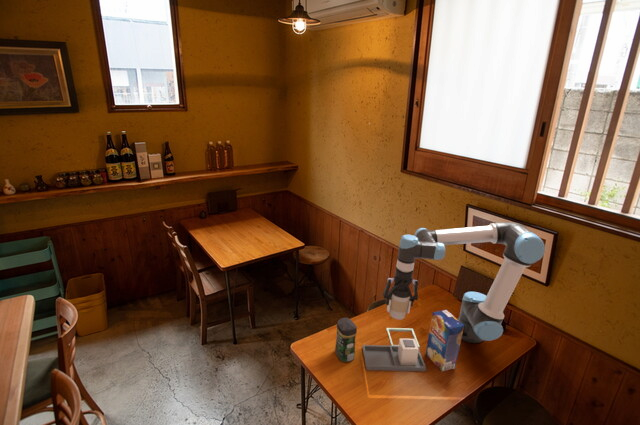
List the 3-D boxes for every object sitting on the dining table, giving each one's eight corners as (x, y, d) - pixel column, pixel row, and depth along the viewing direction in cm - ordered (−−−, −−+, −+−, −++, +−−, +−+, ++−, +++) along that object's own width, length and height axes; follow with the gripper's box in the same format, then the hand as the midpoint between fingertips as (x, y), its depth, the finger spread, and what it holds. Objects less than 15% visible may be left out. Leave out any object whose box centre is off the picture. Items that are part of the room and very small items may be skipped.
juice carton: (455, 369, 159) (464, 325, 151) (441, 373, 156) (450, 328, 148) (438, 351, 169) (446, 309, 161) (425, 355, 167) (432, 312, 159)
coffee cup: (406, 322, 161) (411, 294, 156) (387, 319, 163) (391, 291, 158) (407, 311, 169) (411, 284, 164) (388, 307, 171) (392, 281, 166)
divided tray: (416, 351, 169) (417, 346, 168) (425, 373, 156) (426, 367, 155) (362, 350, 168) (362, 344, 167) (366, 371, 156) (366, 366, 155)
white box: (412, 354, 166) (414, 338, 162) (416, 365, 159) (418, 348, 156) (397, 354, 165) (399, 337, 162) (400, 365, 159) (403, 348, 156)
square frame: (412, 330, 183) (412, 328, 183) (419, 349, 170) (419, 346, 170) (386, 330, 183) (386, 327, 182) (391, 348, 170) (391, 346, 170)
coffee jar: (332, 350, 167) (334, 317, 161) (347, 346, 170) (349, 314, 164) (341, 364, 159) (344, 330, 153) (356, 360, 162) (360, 326, 156)
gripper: (426, 265, 161) (418, 307, 169) (379, 263, 161) (374, 304, 169) (430, 274, 154) (422, 317, 162) (382, 271, 154) (376, 314, 162)
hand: (397, 311), depth 165 cm, fingers closed on coffee cup, 8 cm apart
